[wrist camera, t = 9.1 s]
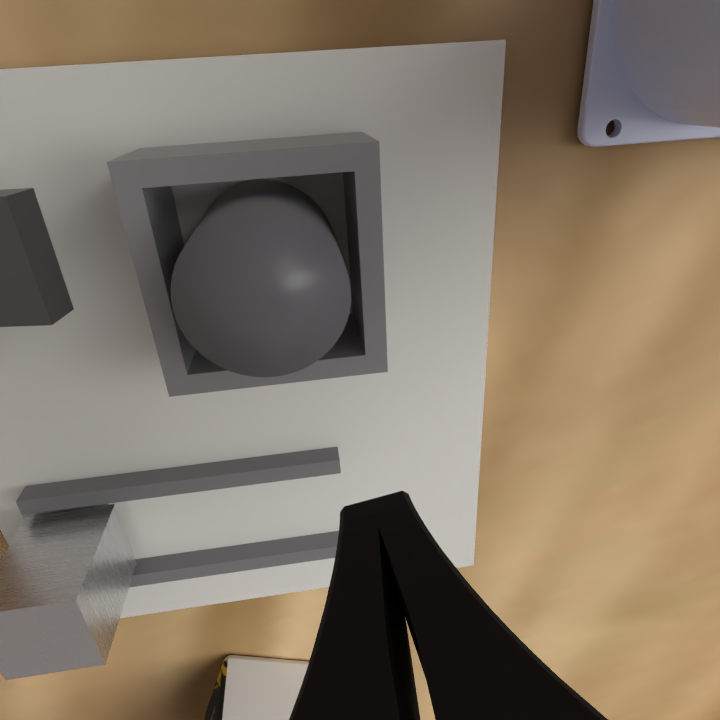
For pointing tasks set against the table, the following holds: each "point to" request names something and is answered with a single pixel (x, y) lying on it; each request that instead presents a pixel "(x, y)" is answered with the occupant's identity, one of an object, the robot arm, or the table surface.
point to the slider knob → (63, 590)
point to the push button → (262, 281)
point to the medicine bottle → (256, 688)
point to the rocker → (28, 264)
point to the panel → (215, 384)
